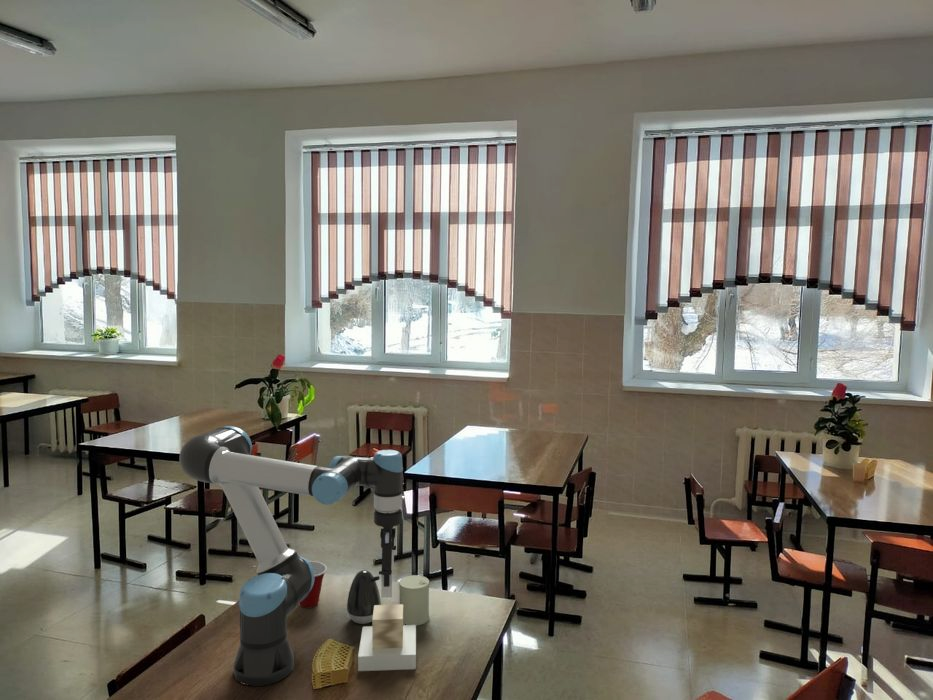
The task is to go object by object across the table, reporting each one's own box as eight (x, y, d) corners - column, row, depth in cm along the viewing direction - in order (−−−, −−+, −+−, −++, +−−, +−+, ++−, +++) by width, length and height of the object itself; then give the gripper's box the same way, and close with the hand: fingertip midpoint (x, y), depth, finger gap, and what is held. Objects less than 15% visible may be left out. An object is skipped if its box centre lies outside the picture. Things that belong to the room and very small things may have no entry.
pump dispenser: (370, 631, 185) (370, 581, 184) (340, 624, 189) (339, 574, 188) (387, 615, 195) (387, 567, 193) (358, 608, 199) (358, 561, 197)
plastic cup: (322, 612, 196) (322, 575, 195) (287, 611, 196) (287, 574, 195) (330, 595, 207) (330, 560, 206) (297, 595, 207) (297, 559, 206)
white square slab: (358, 671, 166) (358, 656, 165) (362, 640, 181) (362, 626, 180) (415, 669, 167) (415, 654, 167) (415, 638, 182) (415, 624, 181)
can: (424, 627, 188) (424, 588, 187) (394, 624, 190) (394, 585, 189) (432, 612, 197) (432, 575, 196) (404, 609, 199) (404, 572, 198)
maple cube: (372, 648, 169) (372, 619, 168) (374, 632, 177) (374, 605, 176) (402, 647, 170) (402, 618, 169) (403, 631, 178) (403, 604, 177)
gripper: (401, 525, 158) (400, 607, 160) (403, 493, 183) (402, 565, 185) (370, 525, 158) (370, 607, 159) (376, 494, 182) (376, 565, 184)
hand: (387, 585), depth 172 cm, fingers open, 13 cm apart
